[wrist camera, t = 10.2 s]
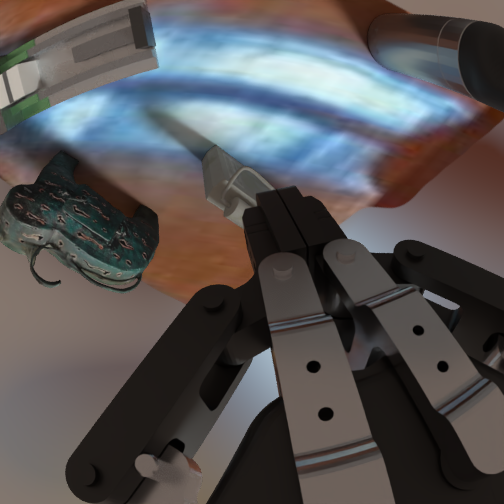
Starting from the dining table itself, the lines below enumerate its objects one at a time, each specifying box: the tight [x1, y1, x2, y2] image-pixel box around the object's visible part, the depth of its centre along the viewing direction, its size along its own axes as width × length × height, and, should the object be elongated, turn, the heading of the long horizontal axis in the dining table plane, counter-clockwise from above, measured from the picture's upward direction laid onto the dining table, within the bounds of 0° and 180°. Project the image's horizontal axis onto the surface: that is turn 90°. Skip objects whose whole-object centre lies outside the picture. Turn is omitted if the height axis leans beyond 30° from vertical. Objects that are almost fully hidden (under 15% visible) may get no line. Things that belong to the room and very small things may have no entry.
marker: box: [0, 60, 43, 109], centre depth 23 cm, size 4×4×5 cm
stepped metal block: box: [71, 6, 156, 63], centre depth 23 cm, size 9×4×7 cm, turn 97°
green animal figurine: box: [0, 151, 159, 293], centre depth 31 cm, size 20×6×20 cm, turn 44°
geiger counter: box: [202, 145, 274, 229], centre depth 40 cm, size 14×6×25 cm
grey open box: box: [0, 0, 159, 135], centre depth 24 cm, size 20×10×6 cm, turn 97°
